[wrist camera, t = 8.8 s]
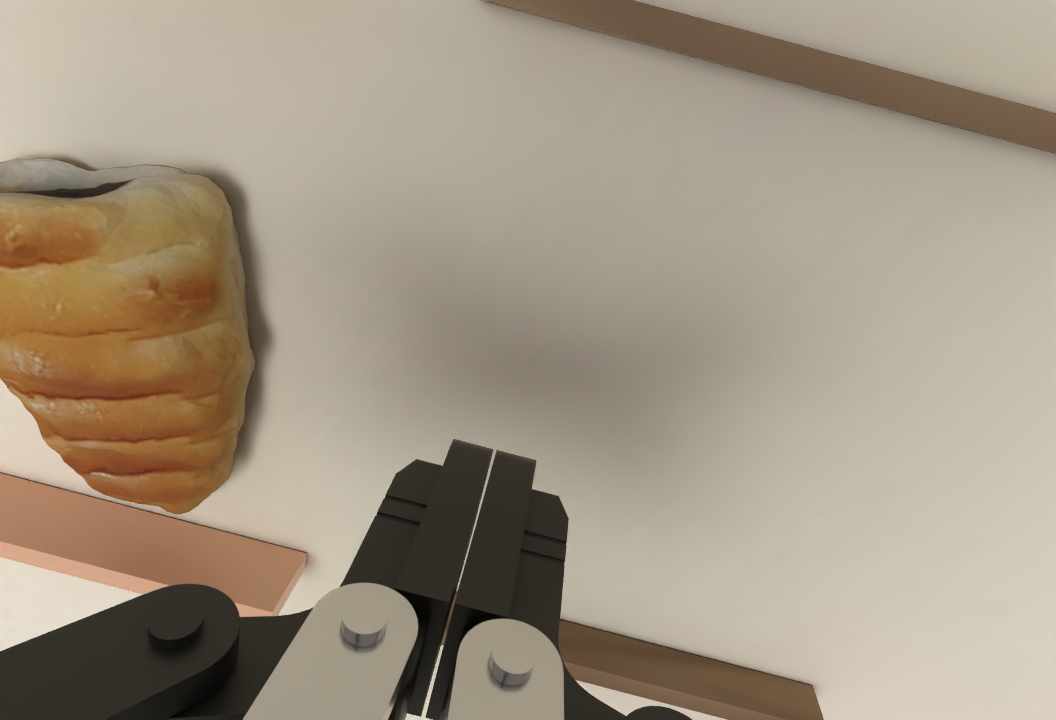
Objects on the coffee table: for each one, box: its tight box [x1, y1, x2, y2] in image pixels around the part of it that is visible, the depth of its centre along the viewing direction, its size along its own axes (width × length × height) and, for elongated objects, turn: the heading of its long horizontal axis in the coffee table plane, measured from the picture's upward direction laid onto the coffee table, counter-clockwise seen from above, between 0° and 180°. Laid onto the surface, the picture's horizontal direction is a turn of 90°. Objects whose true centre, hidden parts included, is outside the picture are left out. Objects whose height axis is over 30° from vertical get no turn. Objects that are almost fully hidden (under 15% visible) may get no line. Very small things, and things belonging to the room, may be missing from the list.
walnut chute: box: [441, 0, 1056, 720], centre depth 17 cm, size 17×14×2 cm
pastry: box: [0, 158, 256, 514], centre depth 16 cm, size 9×7×4 cm
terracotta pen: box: [0, 473, 307, 617], centre depth 16 cm, size 17×14×2 cm
